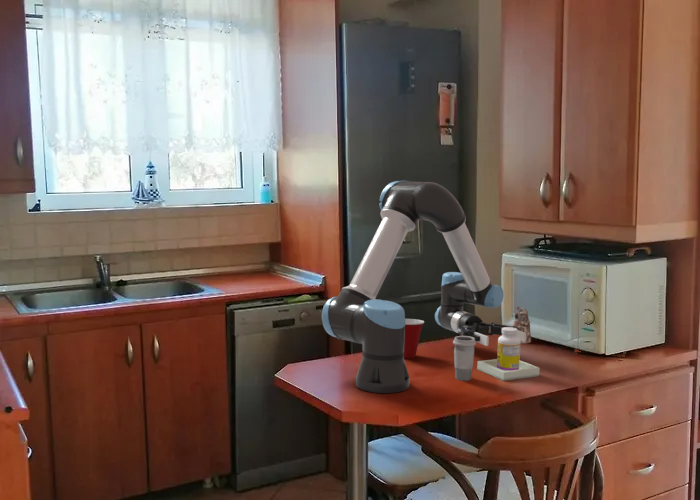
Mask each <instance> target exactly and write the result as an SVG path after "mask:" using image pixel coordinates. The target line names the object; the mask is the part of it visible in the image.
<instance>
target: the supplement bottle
mask: <svg viewBox="0 0 700 500" xmlns="http://www.w3.org/2000/svg"><path fill="white" fill-rule="evenodd" d="M517 333H518V329H517V328H513V327H504V328H502V335H499V337H498V338H497V350H496V351H497V354H496V357H497V358H496V359H497V368H498V369H500V370H503V371H511V370H518V369H519V365H520V358H521V343H520V342H521V341H520V339H519V338H518V337H517Z"/></svg>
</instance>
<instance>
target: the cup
mask: <svg viewBox="0 0 700 500" xmlns="http://www.w3.org/2000/svg"><path fill="white" fill-rule="evenodd" d="M452 344H453V345H454V348H453V354H454V355H453V358H454V378H455V380H457V381H462V382H465V381H466V382H467V381H471V380H472V374H473V368H474V359H475V346H476V344H477V342H476V341H475V338H473V337H470V336H461V335H459V336H458V335H456V336H454V339H453V341H452Z"/></svg>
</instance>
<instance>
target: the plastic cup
mask: <svg viewBox="0 0 700 500" xmlns="http://www.w3.org/2000/svg"><path fill="white" fill-rule="evenodd" d="M405 322H406V324H405V342H404V359H414V358H416V356H417V351H418V347H419V342H420V336H421V332H422V328H423V325H424V324H425V321H424V320H421V319H415V318H405Z"/></svg>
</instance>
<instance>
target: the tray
mask: <svg viewBox="0 0 700 500" xmlns="http://www.w3.org/2000/svg"><path fill="white" fill-rule="evenodd" d="M476 369H477V370H478V371H480V372H482V373H485V374H487V375H489V376H491V377H494V378H496V379H498V380H501V381H503V382H507V381H512V380H520V379H527V378H535V377H540V367H538V366H535V365H533V364H530V363H529V362H525V361H523V360H520V365H519V369H518V370H511V371H503V370H500V369H498V368H497V358H493V359H486V360H478V361H477V367H476Z"/></svg>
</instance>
